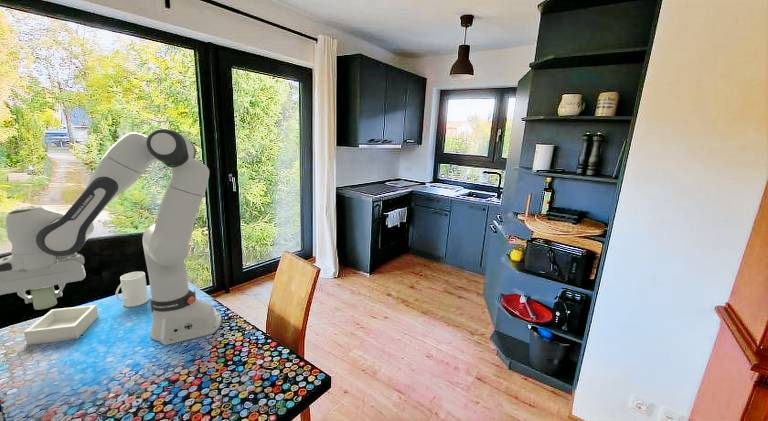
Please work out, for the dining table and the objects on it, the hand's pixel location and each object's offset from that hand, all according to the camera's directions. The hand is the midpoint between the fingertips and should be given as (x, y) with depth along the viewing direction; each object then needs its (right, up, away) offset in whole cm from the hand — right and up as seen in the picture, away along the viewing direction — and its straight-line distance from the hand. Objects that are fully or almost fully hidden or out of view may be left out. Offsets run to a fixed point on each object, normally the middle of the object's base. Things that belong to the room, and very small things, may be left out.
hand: (44, 299), depth 97 cm
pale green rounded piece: (0, -2, 0) cm, 2 cm away
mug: (+3, -11, +31) cm, 33 cm away
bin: (-6, -14, +12) cm, 20 cm away
